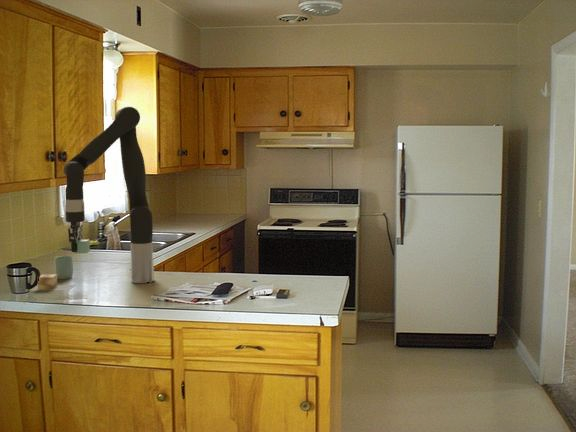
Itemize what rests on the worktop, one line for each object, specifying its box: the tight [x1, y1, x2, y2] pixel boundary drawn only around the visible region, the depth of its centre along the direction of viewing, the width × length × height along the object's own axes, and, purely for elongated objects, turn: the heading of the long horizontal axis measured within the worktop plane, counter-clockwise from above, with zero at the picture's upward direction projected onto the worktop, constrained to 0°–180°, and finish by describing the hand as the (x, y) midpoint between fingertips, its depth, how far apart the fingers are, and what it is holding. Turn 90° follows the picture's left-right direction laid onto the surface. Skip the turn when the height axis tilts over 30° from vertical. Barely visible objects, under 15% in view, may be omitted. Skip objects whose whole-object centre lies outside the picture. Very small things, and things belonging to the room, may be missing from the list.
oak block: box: [37, 273, 58, 290], centre depth 276 cm, size 6×6×5 cm
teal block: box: [74, 239, 91, 254], centre depth 280 cm, size 5×5×5 cm
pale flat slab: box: [29, 284, 76, 292], centre depth 276 cm, size 16×10×1 cm, turn 93°
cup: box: [54, 255, 74, 280], centre depth 297 cm, size 8×8×10 cm
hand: (76, 250), depth 280 cm, fingers closed on teal block, 5 cm apart
